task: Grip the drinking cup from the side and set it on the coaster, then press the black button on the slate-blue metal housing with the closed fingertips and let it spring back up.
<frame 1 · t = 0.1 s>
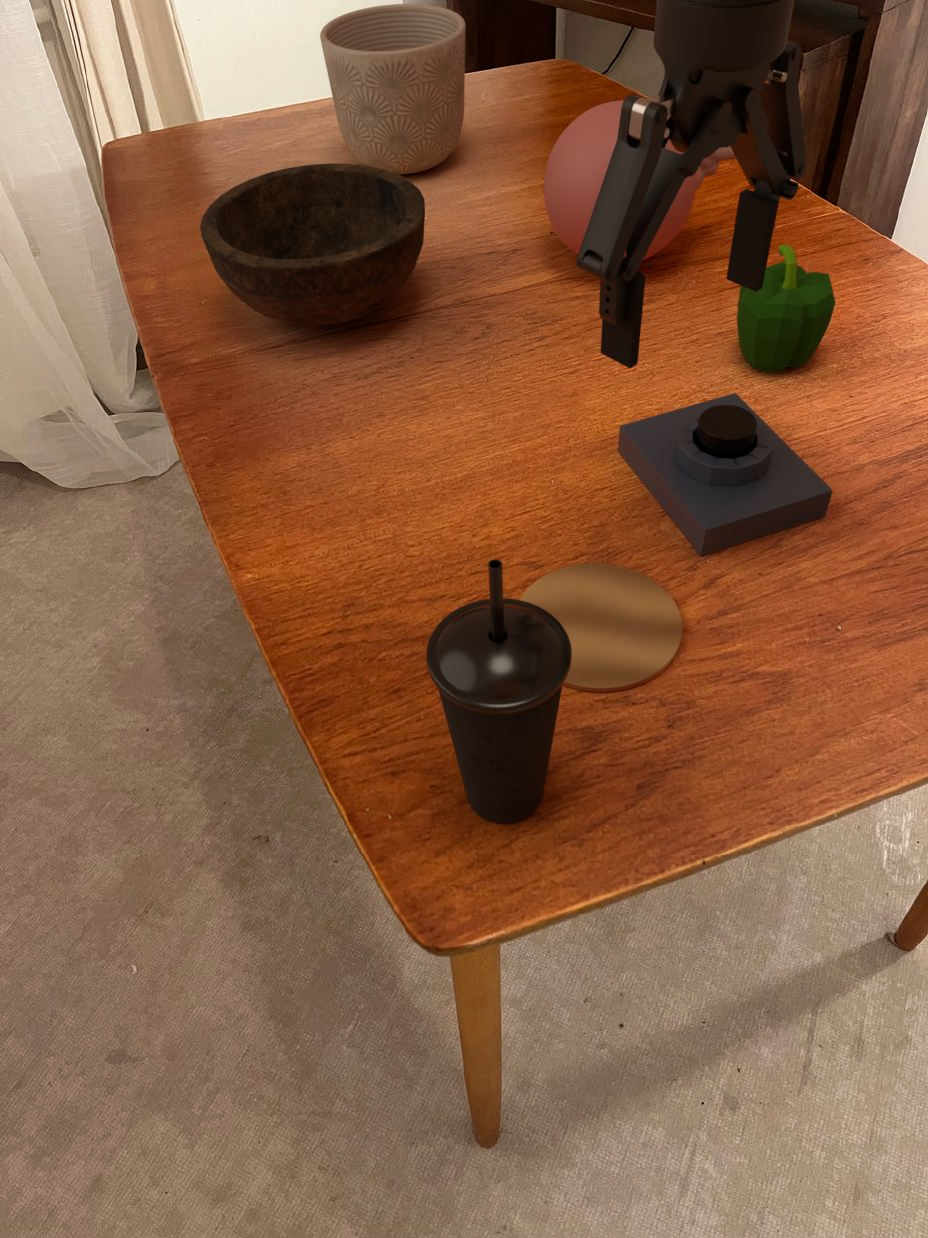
hand: (683, 320, 70), 15 cm above the table, tool pointing down, fingers open, 13 cm apart
planter: (405, 161, 125), on the table
housing: (717, 482, 80), on the table
coaster: (596, 626, 70), on the table
balloon: (635, 255, 106), on the table
bell pepper: (774, 359, 92), on the table
button: (726, 432, 76), point 5 cm above the table, slide at 0.1 cm
bowl: (329, 306, 102), on the table
drinking cup: (504, 792, 62), on the table
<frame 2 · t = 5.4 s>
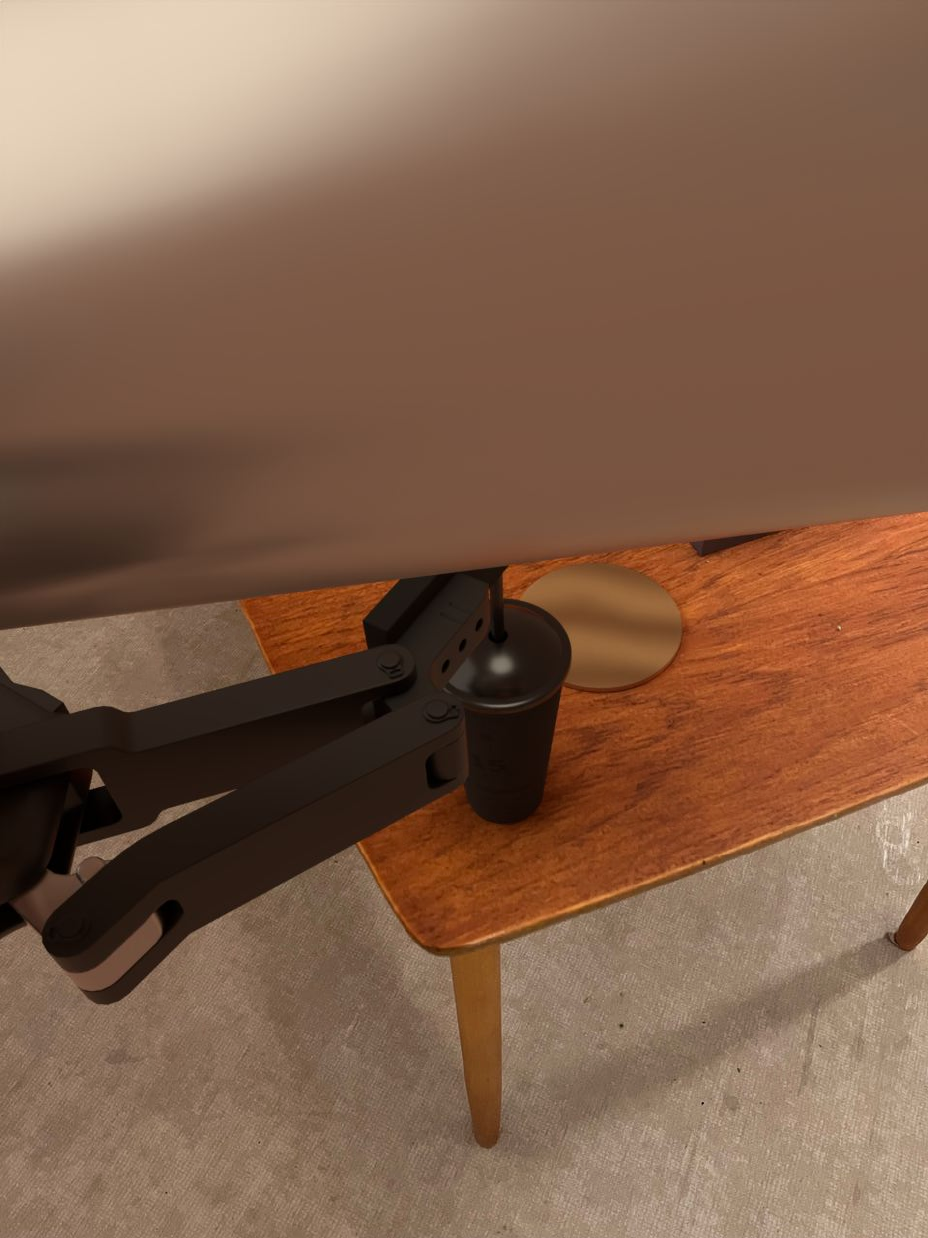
hand: (327, 441, 31), 34 cm above the table, tool horizontal, fingers open, 13 cm apart
nothing on the table moved.
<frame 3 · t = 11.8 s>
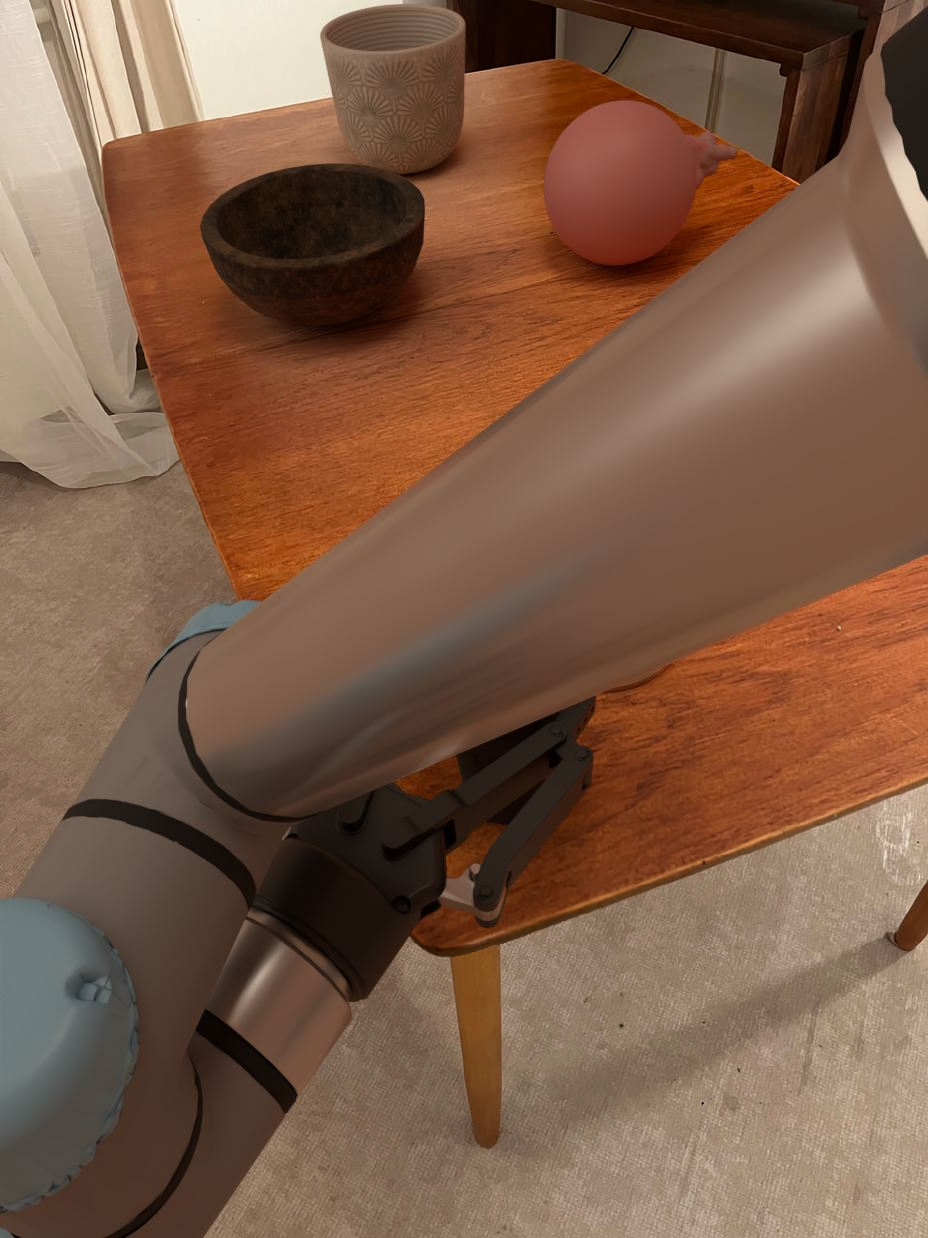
hand: (544, 622, 56), 11 cm above the table, tool horizontal, fingers closed on drinking cup, 7 cm apart
drinking cup: (504, 792, 62), on the table, touching gripper
everything else where it was.
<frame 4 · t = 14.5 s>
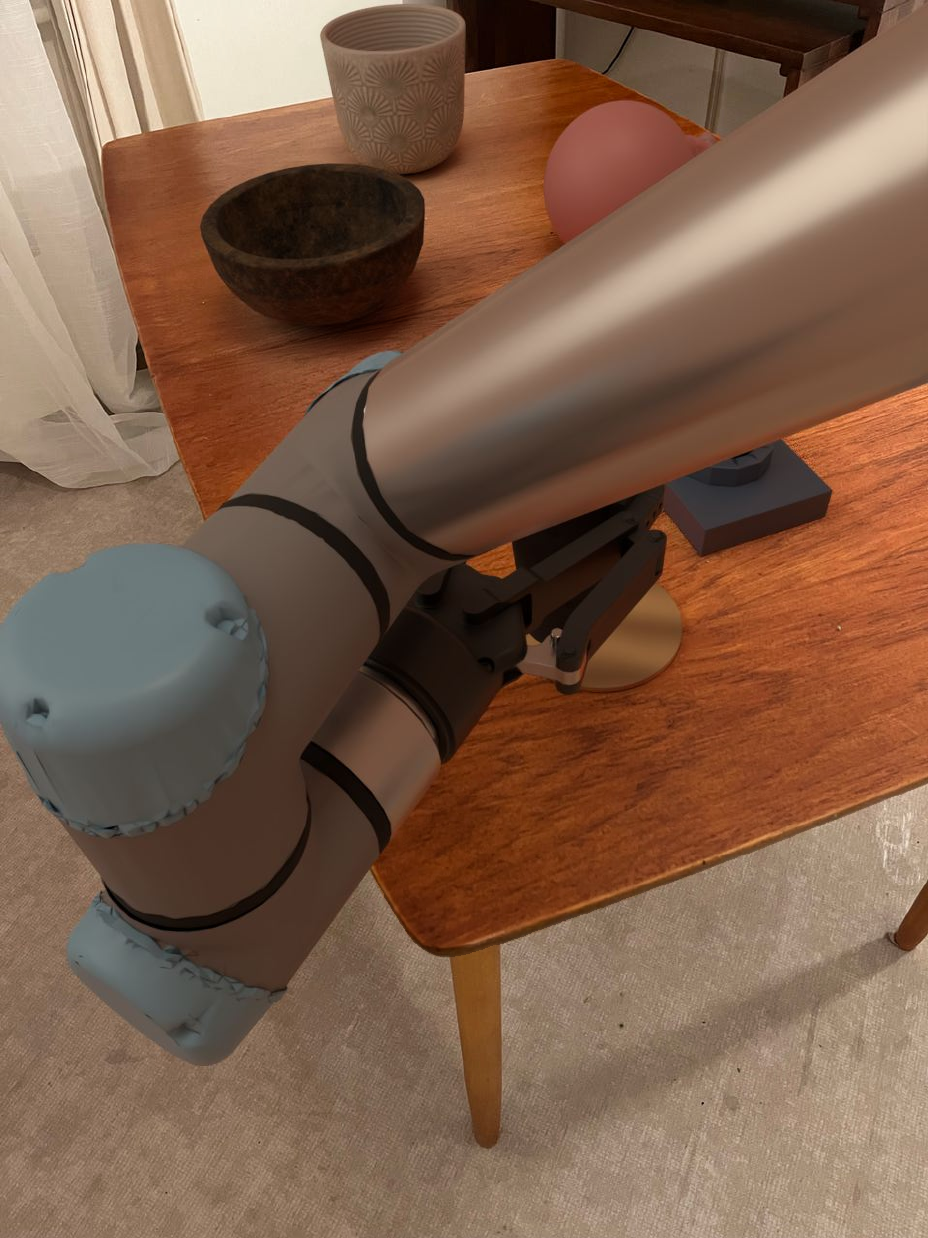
hand: (606, 434, 56), 18 cm above the table, tool horizontal, fingers closed on drinking cup, 7 cm apart
drinking cup: (561, 622, 62), point 7 cm above the table, touching gripper
everything else where it was.
when the fingers open (11 cm above the table, at t = 17.5 s): drinking cup stays where it is, resting on coaster.
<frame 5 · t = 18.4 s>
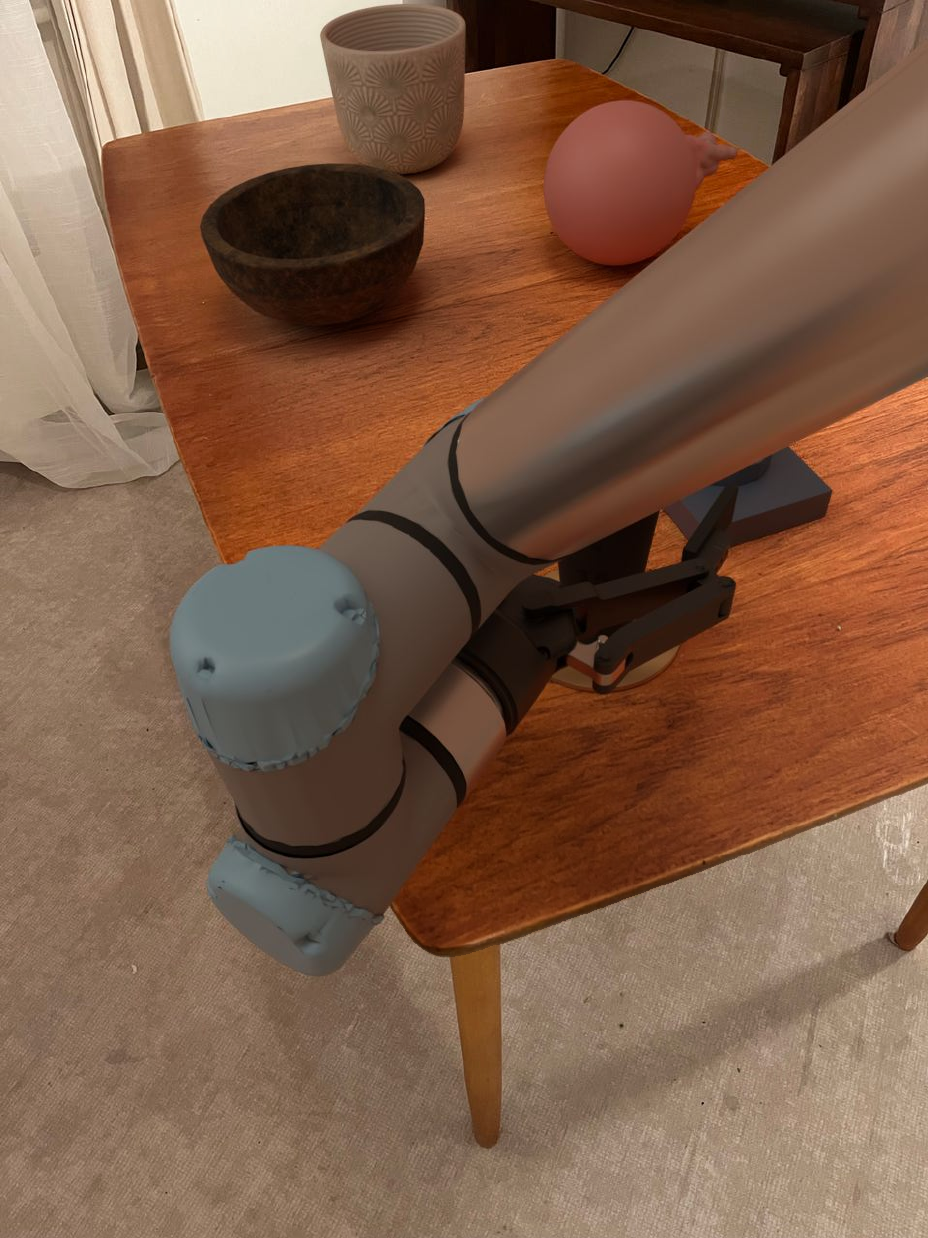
hand: (629, 468, 63), 12 cm above the table, tool horizontal, fingers open, 13 cm apart
drinking cup: (596, 623, 70), resting on coaster
everything else where it was.
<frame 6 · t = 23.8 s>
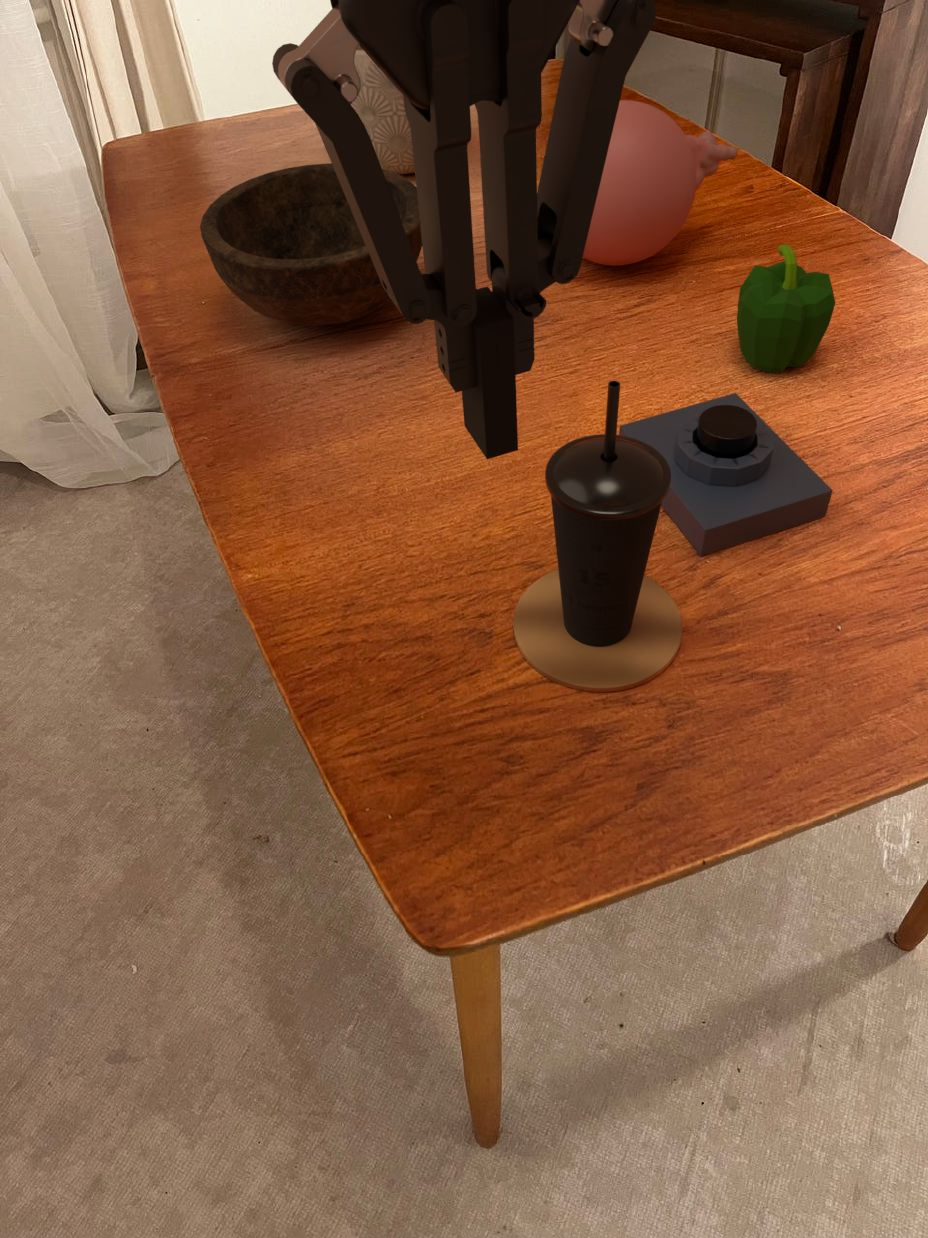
hand: (490, 437, 44), 26 cm above the table, tool pointing down, fingers closed
nothing on the table moved.
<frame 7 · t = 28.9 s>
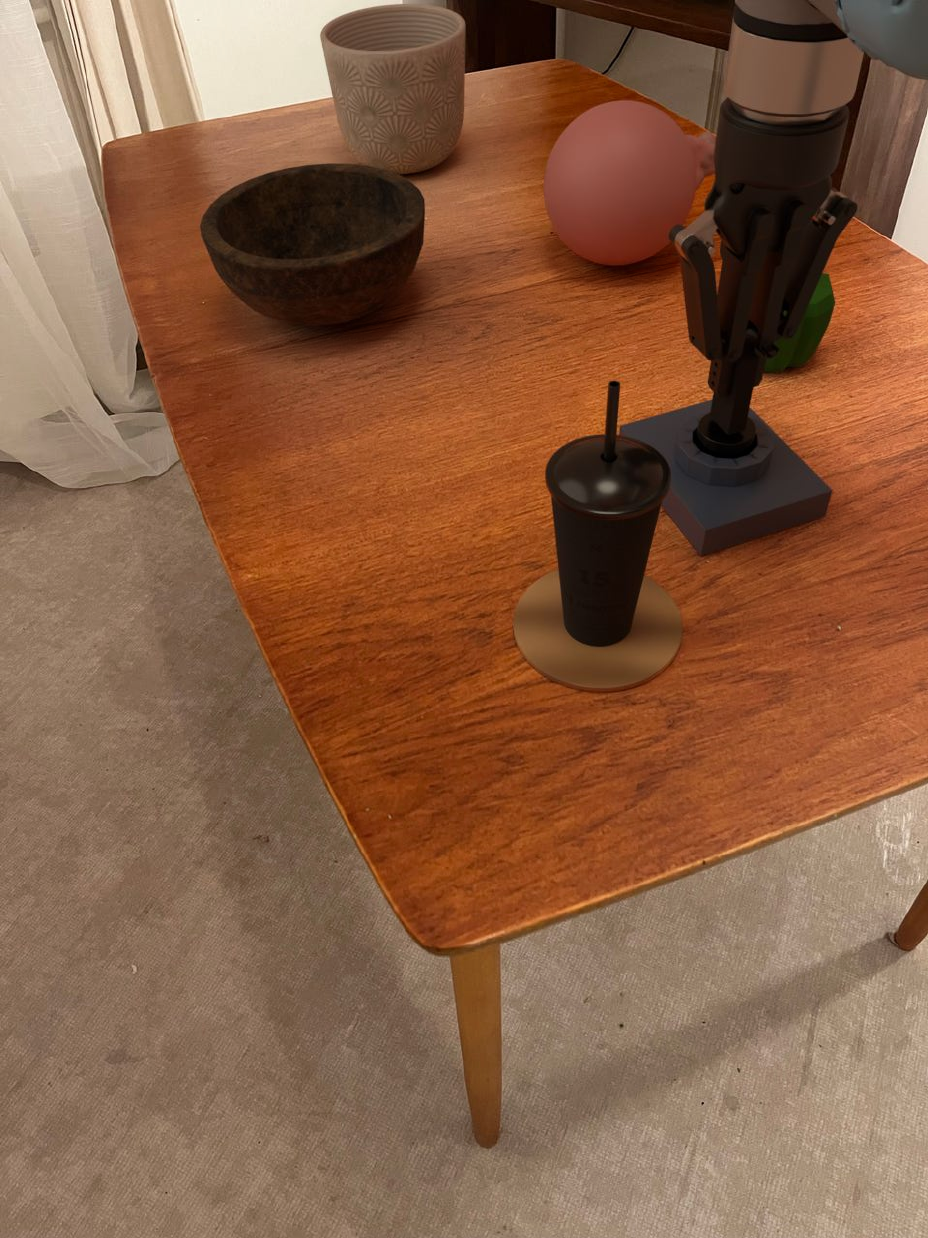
hand: (727, 422, 76), 6 cm above the table, tool pointing down, fingers closed
button: (725, 437, 77), point 5 cm above the table, slide at -0.4 cm, touching gripper
everything else where it was.
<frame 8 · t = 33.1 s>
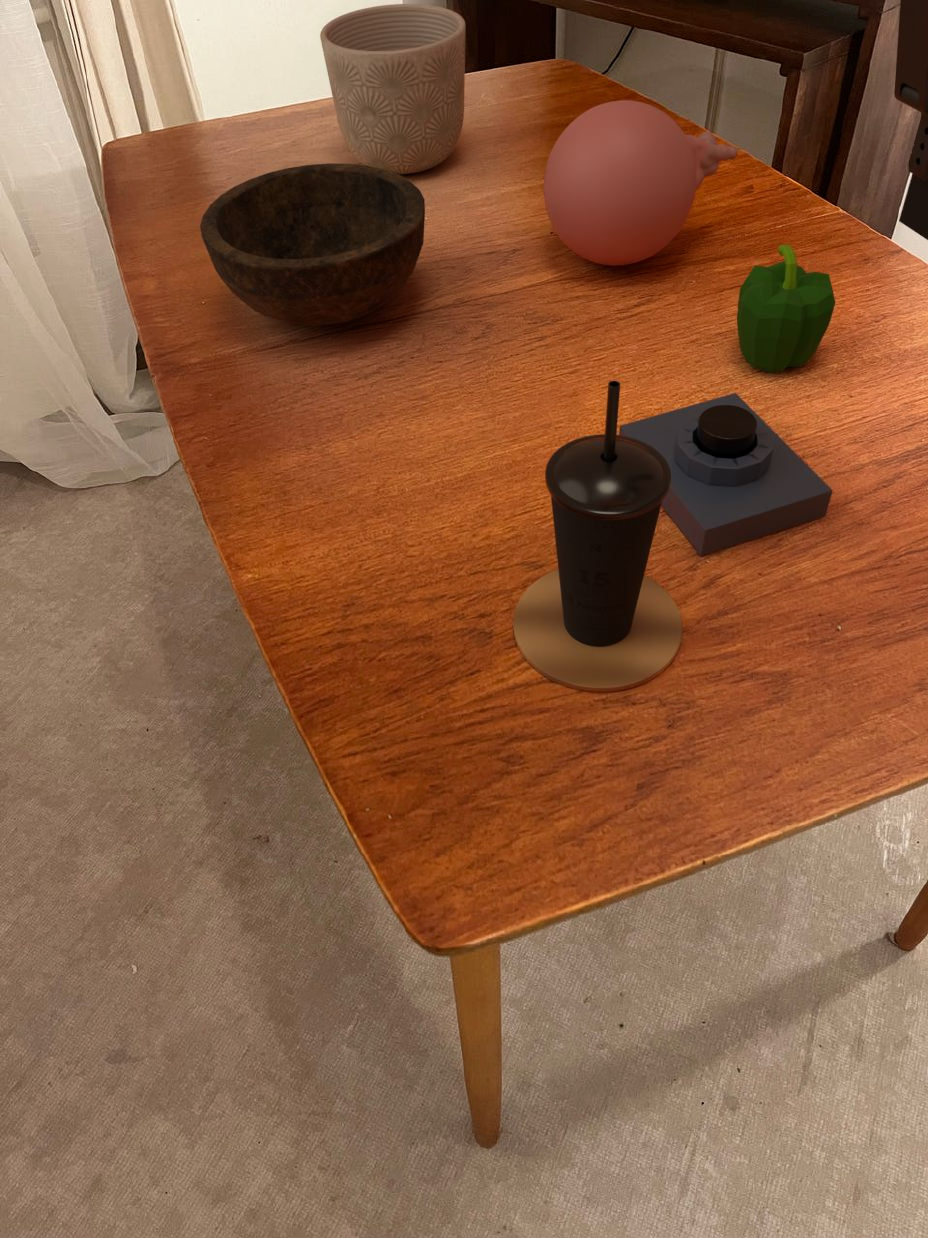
hand: (924, 227, 57), 24 cm above the table, tool pointing down, fingers closed
button: (726, 432, 76), point 5 cm above the table, slide at 0.1 cm
everything else where it was.
at the end: drinking cup 0.0 cm off-centre on the coaster, point 0.3 cm above the coaster's base; drinking cup tilted 0°; button pushed in 1.0 cm at the most during the clip, back to where it started at the end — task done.
